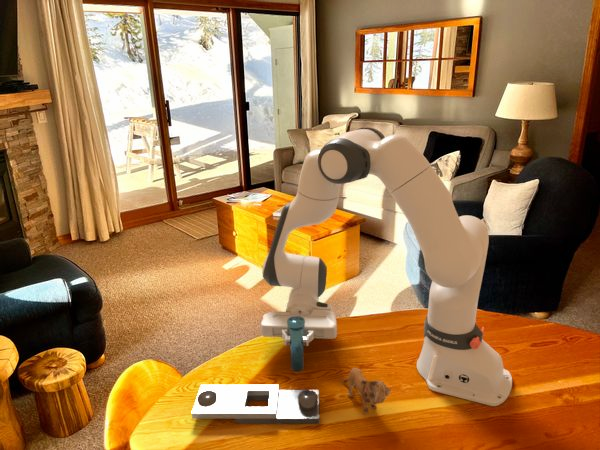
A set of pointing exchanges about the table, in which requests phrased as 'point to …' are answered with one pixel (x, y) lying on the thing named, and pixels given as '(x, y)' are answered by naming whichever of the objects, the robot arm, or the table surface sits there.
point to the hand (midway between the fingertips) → (296, 343)
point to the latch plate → (279, 411)
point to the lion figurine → (367, 389)
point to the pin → (296, 342)
